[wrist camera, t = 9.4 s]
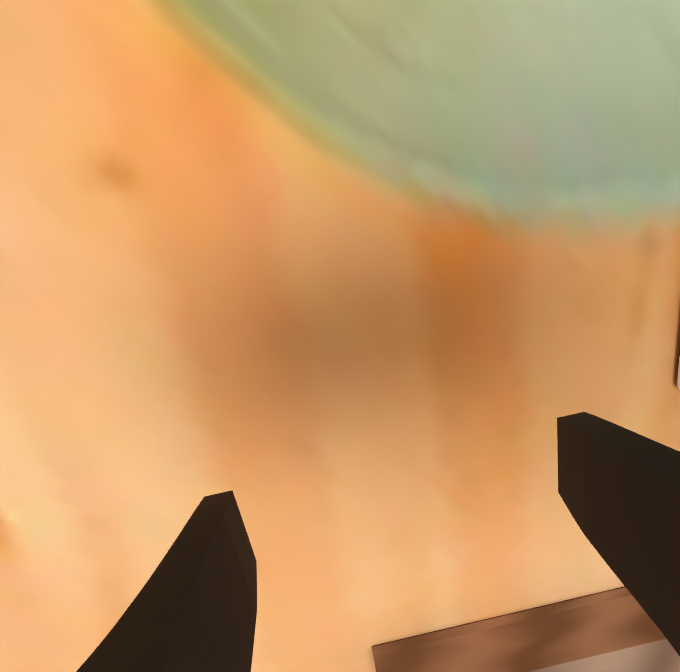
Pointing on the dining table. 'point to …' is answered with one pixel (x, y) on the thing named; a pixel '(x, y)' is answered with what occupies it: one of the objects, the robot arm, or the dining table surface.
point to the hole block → (542, 641)
